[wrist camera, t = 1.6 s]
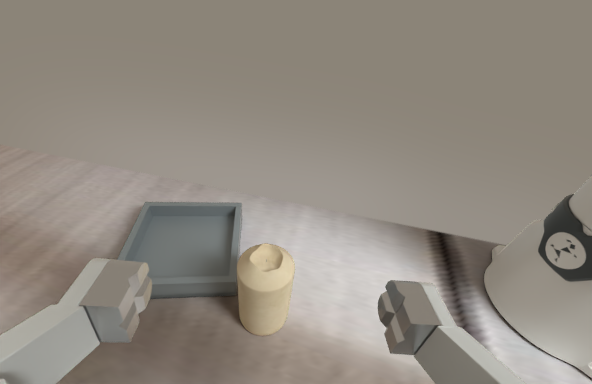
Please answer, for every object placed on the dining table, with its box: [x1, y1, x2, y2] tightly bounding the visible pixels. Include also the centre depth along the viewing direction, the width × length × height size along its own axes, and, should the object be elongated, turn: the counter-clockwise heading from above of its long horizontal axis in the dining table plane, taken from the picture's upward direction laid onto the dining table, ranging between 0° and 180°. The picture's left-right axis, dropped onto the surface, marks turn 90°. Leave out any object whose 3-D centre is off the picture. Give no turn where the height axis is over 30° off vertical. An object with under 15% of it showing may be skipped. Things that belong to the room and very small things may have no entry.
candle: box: [237, 243, 295, 336], centre depth 29 cm, size 6×6×10 cm
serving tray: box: [117, 202, 242, 299], centre depth 37 cm, size 14×14×3 cm
